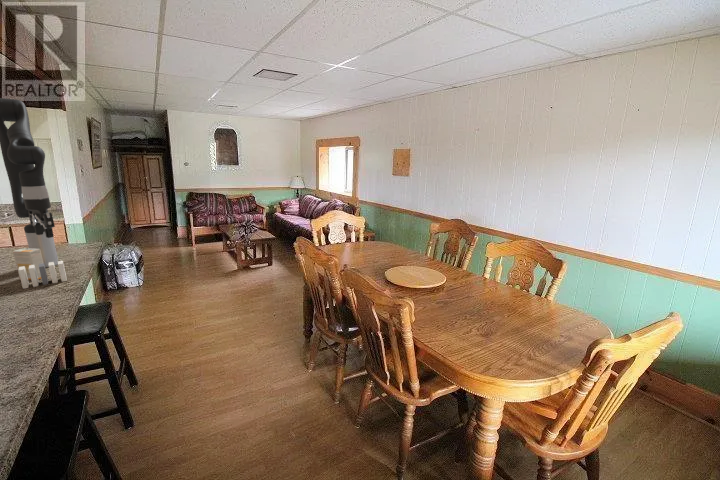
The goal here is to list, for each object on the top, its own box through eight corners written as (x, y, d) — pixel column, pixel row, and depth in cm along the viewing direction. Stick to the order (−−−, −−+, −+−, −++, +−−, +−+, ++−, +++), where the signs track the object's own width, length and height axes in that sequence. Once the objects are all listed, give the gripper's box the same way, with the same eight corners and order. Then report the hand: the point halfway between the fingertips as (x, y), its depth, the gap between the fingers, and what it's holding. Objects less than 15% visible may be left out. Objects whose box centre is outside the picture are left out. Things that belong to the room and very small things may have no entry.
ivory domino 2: (33, 283, 142) (29, 265, 140) (38, 282, 143) (34, 264, 141) (33, 286, 138) (28, 268, 136) (38, 285, 140) (34, 267, 137)
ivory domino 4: (61, 278, 148) (57, 261, 146) (66, 277, 149) (62, 260, 147) (61, 281, 144) (58, 264, 142) (66, 280, 145) (62, 263, 143)
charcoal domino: (43, 281, 144) (39, 263, 142) (48, 280, 145) (44, 263, 143) (43, 285, 140) (38, 267, 138) (48, 284, 142) (44, 266, 139)
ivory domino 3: (52, 279, 146) (48, 262, 144) (57, 279, 147) (53, 261, 145) (52, 283, 142) (48, 265, 140) (57, 282, 143) (53, 264, 141)
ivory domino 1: (23, 284, 140) (19, 266, 138) (29, 283, 141) (24, 266, 139) (23, 288, 137) (18, 270, 134) (28, 287, 138) (23, 269, 136)
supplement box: (47, 276, 149) (41, 248, 146) (36, 280, 145) (29, 251, 141) (30, 275, 150) (24, 247, 147) (19, 279, 145) (11, 250, 142)
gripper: (15, 196, 135) (25, 235, 139) (32, 199, 129) (41, 240, 133) (39, 194, 141) (47, 232, 146) (56, 197, 135) (64, 236, 140)
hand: (45, 236), depth 139 cm, fingers open, 8 cm apart
